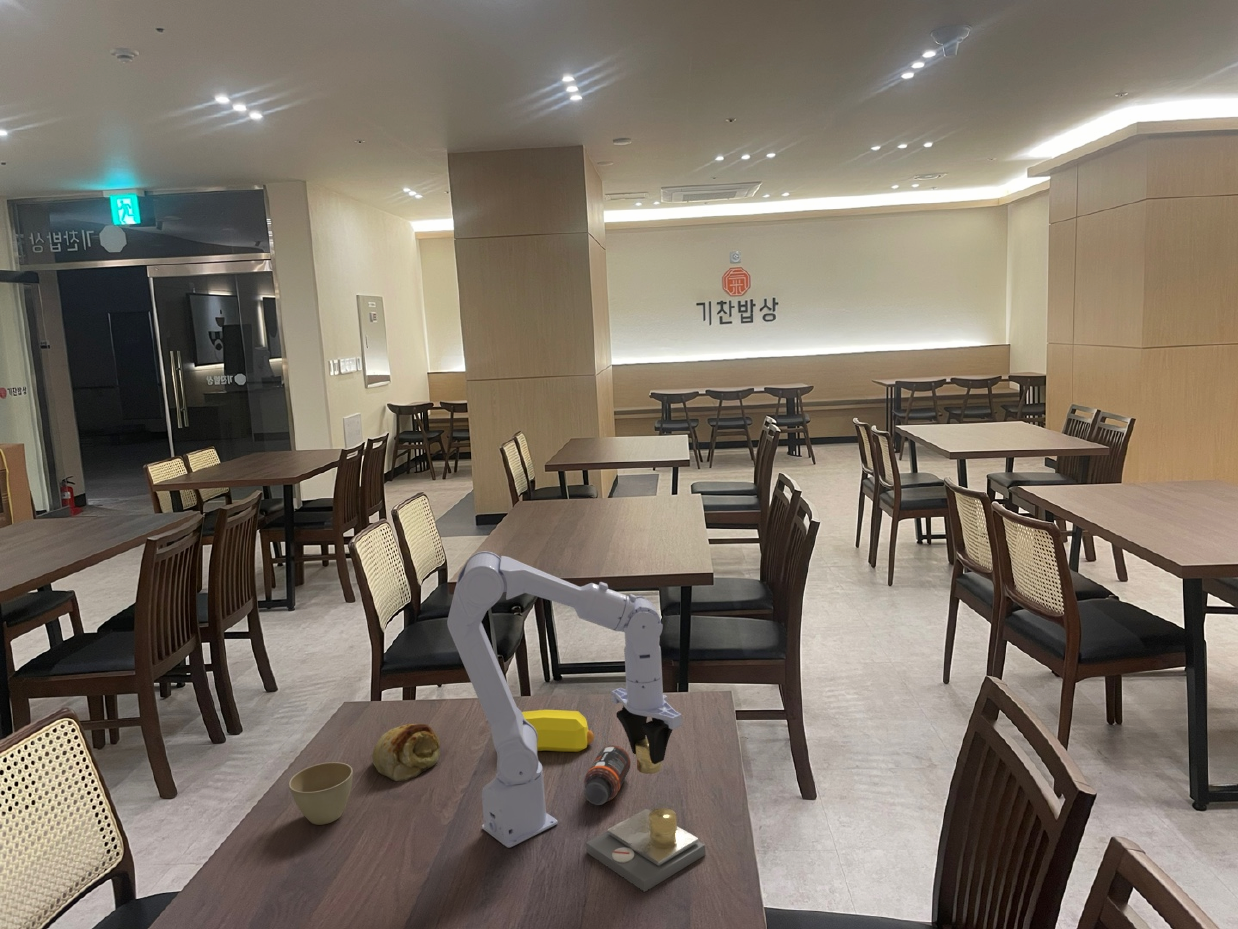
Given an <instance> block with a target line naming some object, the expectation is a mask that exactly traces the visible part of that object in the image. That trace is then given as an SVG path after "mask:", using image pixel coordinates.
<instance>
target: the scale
mask: <svg viewBox="0 0 1238 929" xmlns="http://www.w3.org/2000/svg"><path fill="white" fill-rule="evenodd" d="M585 846H586V853H587V854H588V855H590V856H591V857H592V858H594V859H596V860H597V861H598V860H599V861H598V862H600V863H601V864H603V865H604V866H606V865H607V866H608V867H607V866H606V867H607V868H609V869H610V868H611V869H610V870H612V871H613V872H615V871H616V872H617V873H618V874H617V873H616V872H615V873H616V874H617V875H619V876H620V877H622V878H623V877H624V878H623V879H625V880H626V879H627V880H626V881H627V882H629V883H631V884H632V883H633V884H634V885H633V884H632V885H633V886H634V887H637V888H638V889H639V888H640V889H639V890H641V889H642V890H643V892H644V893H645V891H646V892H647V891H649V890H651V889H652V888H654V887H655V886H657V885H659V884H660V883H662V882H664V881H666V880H667V879H668V878H670V877H672V876H673V875H674V874H676V873H678V872H679V871H681V870H683V869H685V868H686V867H688V866H689V865H691V864H693V863H695V862H696V861H698V860H699V859H702V858H703V857H704V856H706V844H705V843H702V842H701V841H699V842H698V843H696V844H695V845H693V846H691V847H690V848H688V849H686V850H685V851H683V852H681V853H679V854H678V855H676V856H674V857H673V858H671V859H669V860H668V861H666V862H664V863H663V864H661V865H659V866H658V865H656V864H655V863H653V862H652V861H650V860H648V859H647V858H645V857H644V856H642V855H641V854H639V853H637V852H636V851H634V850H633V849H631V848H630V847H628V846H627V845H625V844H623V843H622V842H620V841H619V840H617V839H616V838H614V837H612V836H611V835H609V834H608V833H607V831H605V832H603V833H601V834H599V835H597V836H595V837H594V838H592V839H590V840H588V841H586V842H585ZM648 889H649V890H648ZM642 890H641V891H642Z"/></svg>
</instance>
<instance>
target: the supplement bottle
mask: <svg viewBox="0 0 1238 929" xmlns="http://www.w3.org/2000/svg"><path fill="white" fill-rule="evenodd" d="M631 764H632V763H631V758H630V755H629V754H628V752H627V751H626V750H625V749H624V748H623V747H620V746H618V745H615V744H613V745H611V744H610V745H606V746H604V747H603V748H601V749H600V751H599V752H598V754H597V756H596V757H595V760H593V763H592V764H591V765H590V768H589V769H588V771H587V773H586V775H584V776H585V777H584V781H583V782H584V783H583V785H584V796H585V797H586V799H587V801H589V803H590V804H592V805H596V806H600V805H601V806H602V805H604V804H605V803H606V802H609V801H611V800H613V799H614V798H615V797H616V796H617V794H618V793H619V791H620V789H621V787H622V785H623V784H624V781H625V780H626V777H627V775H628V774H629V772H630V768H631Z"/></svg>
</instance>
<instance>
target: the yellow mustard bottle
mask: <svg viewBox="0 0 1238 929" xmlns="http://www.w3.org/2000/svg"><path fill="white" fill-rule="evenodd" d="M521 712H522V714H523V716H524V718H525V719H526V721H527V722H529V723H530V724H531V725H532V726H533V727H534V728H535V730H536V732H537V735H538V741H537V752H542V751H544V752H545V751H549V752H550V751H551V752H571V753H572V752H573V753H579V752H581V751H583V750H584V749H587V747H588V746H589V745H590V744H593V741H594V738H595V735H594V733H593V731H592V730H589V727H588V722H587V718H586V717H585V716H584V715H583V714H582V713H581V712H580V711H578V710H564V709H563V710H560V709H539V710H538V709H537V710H529V711H527V710H526V711H521Z"/></svg>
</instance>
